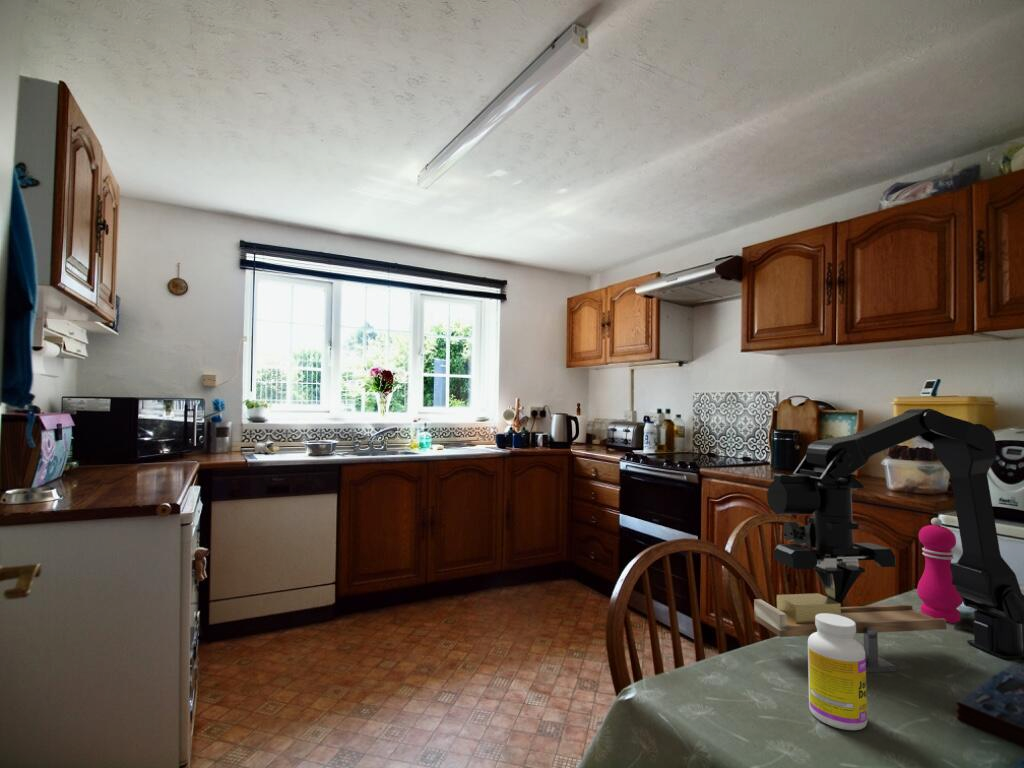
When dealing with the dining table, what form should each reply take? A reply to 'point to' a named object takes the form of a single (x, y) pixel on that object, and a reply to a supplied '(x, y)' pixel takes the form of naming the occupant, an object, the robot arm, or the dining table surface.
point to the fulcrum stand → (874, 653)
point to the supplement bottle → (837, 673)
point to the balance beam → (863, 616)
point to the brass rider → (806, 607)
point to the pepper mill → (938, 573)
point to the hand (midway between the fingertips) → (835, 606)
